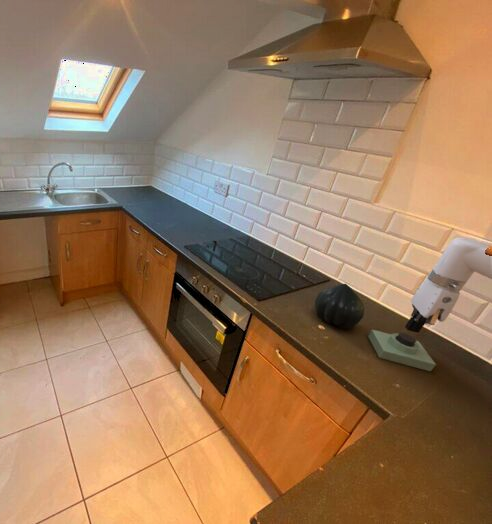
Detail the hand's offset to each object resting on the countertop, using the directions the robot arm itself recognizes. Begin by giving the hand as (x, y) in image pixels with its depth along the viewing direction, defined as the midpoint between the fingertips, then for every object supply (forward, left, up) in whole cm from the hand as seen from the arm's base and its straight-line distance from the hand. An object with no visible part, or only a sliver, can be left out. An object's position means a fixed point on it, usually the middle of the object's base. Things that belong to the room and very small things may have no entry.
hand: (411, 329), depth 94 cm
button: (0, 0, -5) cm, 5 cm away
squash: (+19, -7, -10) cm, 22 cm away
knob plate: (0, 0, -10) cm, 10 cm away
